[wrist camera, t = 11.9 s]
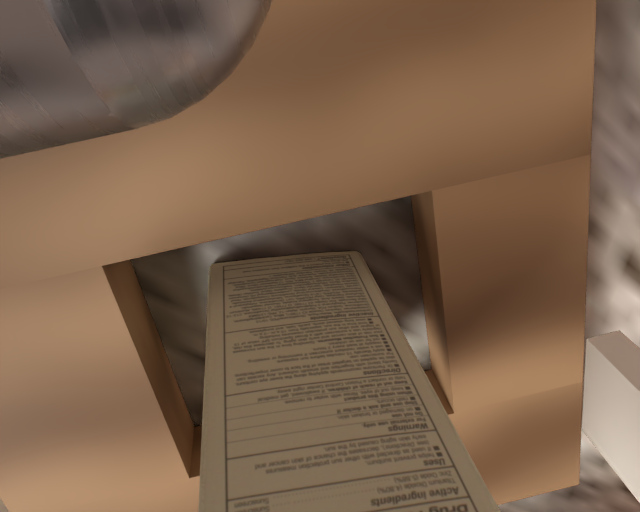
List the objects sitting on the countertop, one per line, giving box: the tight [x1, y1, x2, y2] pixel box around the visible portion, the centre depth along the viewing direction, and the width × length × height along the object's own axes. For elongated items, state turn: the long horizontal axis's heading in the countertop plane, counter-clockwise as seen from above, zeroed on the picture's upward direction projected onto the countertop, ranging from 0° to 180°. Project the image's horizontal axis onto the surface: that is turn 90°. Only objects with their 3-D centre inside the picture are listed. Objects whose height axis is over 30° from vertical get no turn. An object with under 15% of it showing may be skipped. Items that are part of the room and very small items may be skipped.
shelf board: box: [0, 0, 596, 512], centre depth 16 cm, size 23×22×2 cm
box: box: [198, 251, 501, 512], centre depth 14 cm, size 5×4×11 cm
